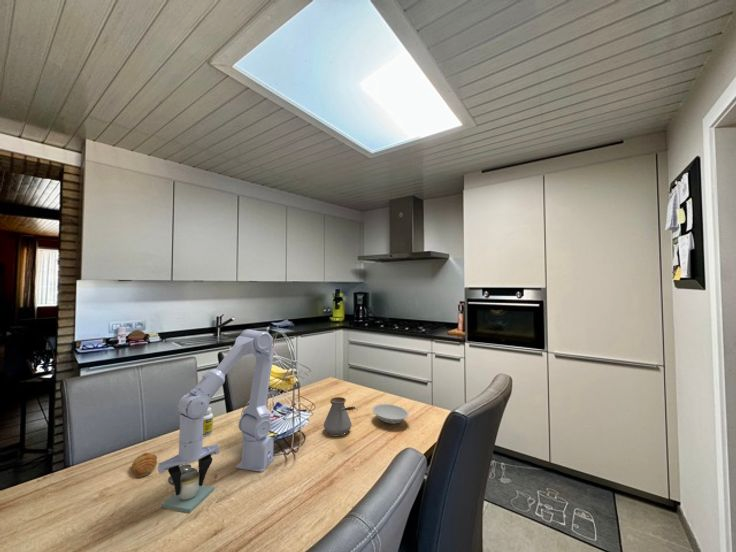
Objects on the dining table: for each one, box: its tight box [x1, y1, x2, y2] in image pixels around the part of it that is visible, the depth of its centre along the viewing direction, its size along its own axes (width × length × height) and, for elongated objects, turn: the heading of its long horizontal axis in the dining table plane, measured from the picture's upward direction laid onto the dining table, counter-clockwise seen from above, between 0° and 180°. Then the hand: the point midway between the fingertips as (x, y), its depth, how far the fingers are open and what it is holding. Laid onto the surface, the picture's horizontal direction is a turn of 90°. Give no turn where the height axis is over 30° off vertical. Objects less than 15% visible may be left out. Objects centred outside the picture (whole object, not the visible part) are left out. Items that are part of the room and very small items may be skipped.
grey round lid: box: [168, 463, 199, 485], centre depth 93 cm, size 8×8×2 cm
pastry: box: [130, 452, 158, 479], centre depth 96 cm, size 9×7×4 cm
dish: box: [372, 403, 409, 425], centre depth 133 cm, size 18×14×5 cm
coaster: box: [160, 484, 215, 514], centre depth 83 cm, size 9×9×1 cm
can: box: [179, 471, 200, 499], centre depth 83 cm, size 5×5×4 cm
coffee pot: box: [323, 396, 358, 436], centre depth 120 cm, size 21×12×15 cm, turn 29°
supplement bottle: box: [203, 406, 214, 438], centre depth 120 cm, size 5×5×10 cm
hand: (189, 488), depth 83 cm, fingers open, 5 cm apart
